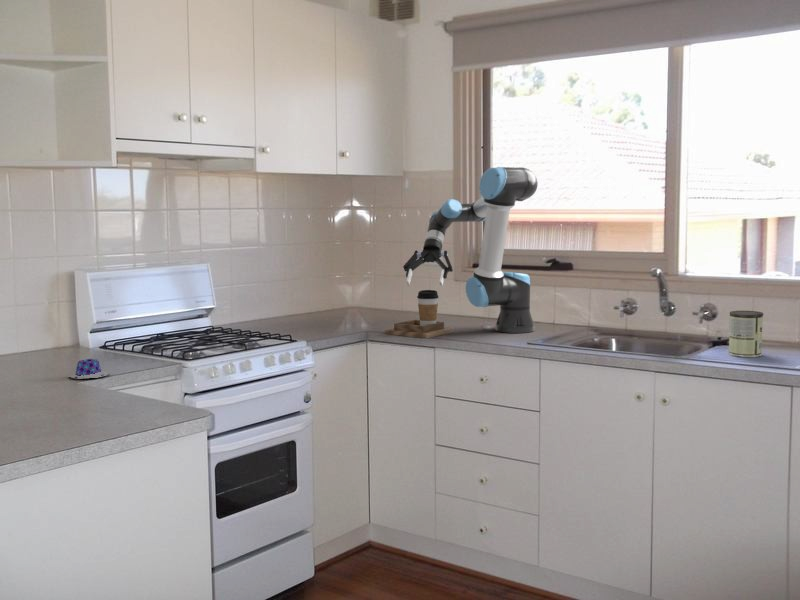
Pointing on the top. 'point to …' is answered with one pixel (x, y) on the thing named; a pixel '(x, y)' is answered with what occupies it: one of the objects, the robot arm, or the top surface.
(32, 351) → the top surface
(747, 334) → the coffee can
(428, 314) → the coffee cup
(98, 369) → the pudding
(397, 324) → the cup rack
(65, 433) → the top surface
